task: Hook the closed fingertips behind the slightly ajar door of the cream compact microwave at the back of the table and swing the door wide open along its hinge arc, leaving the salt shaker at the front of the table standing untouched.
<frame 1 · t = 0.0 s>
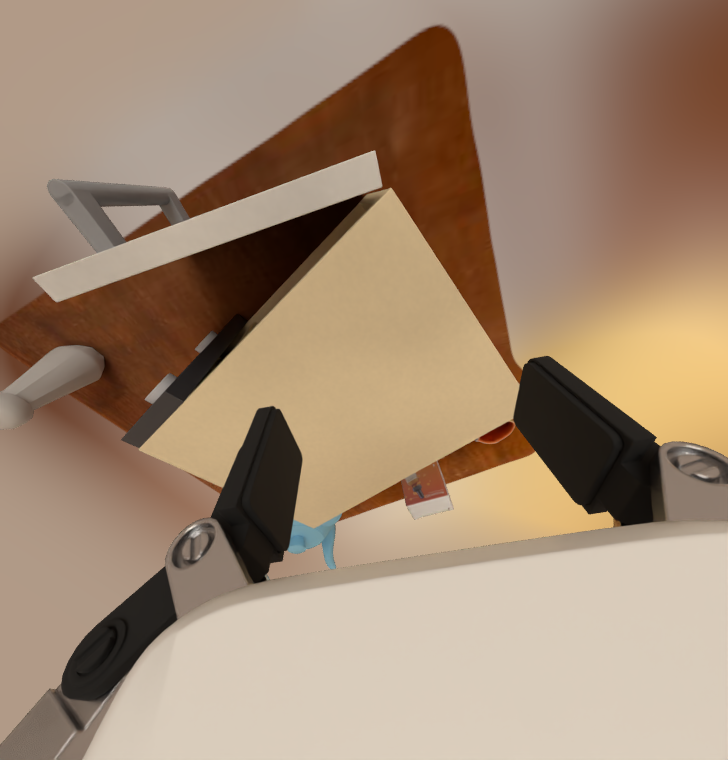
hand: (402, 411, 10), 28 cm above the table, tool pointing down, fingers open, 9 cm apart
microwave door: (232, 194, 21), point 9 cm above the table, hinge at 25.0°
mug: (466, 411, 49), on the table
salt shaker: (90, 356, 38), on the table
small box: (417, 460, 56), on the table
teapot: (305, 479, 58), on the table
microwave: (339, 342, 39), on the table
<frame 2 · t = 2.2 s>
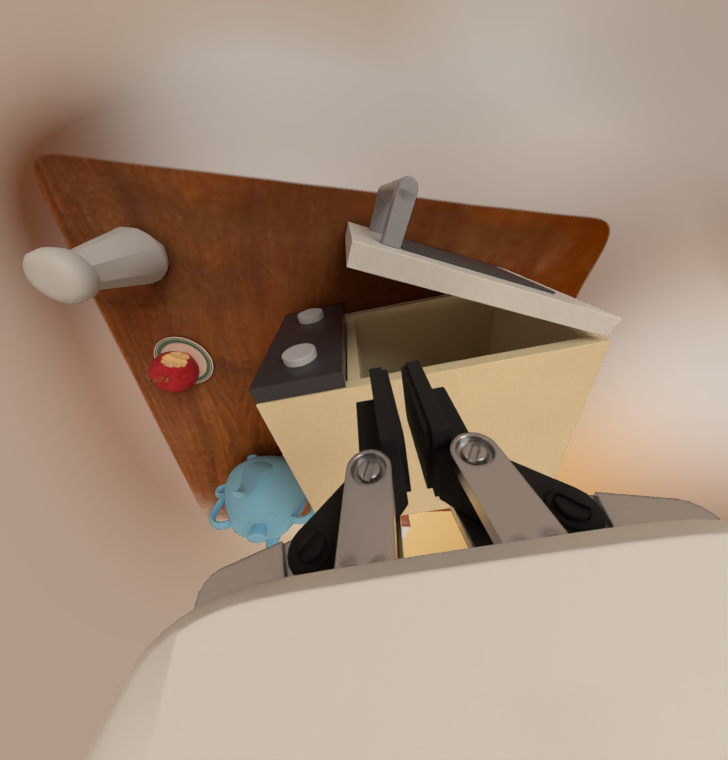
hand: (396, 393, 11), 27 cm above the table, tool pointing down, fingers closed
microwave door: (463, 245, 25), point 9 cm above the table, hinge at 25.0°
apple: (186, 359, 40), on the table
salt shaker: (151, 252, 31), on the table
teapot: (274, 467, 55), on the table
microwave: (401, 368, 43), on the table
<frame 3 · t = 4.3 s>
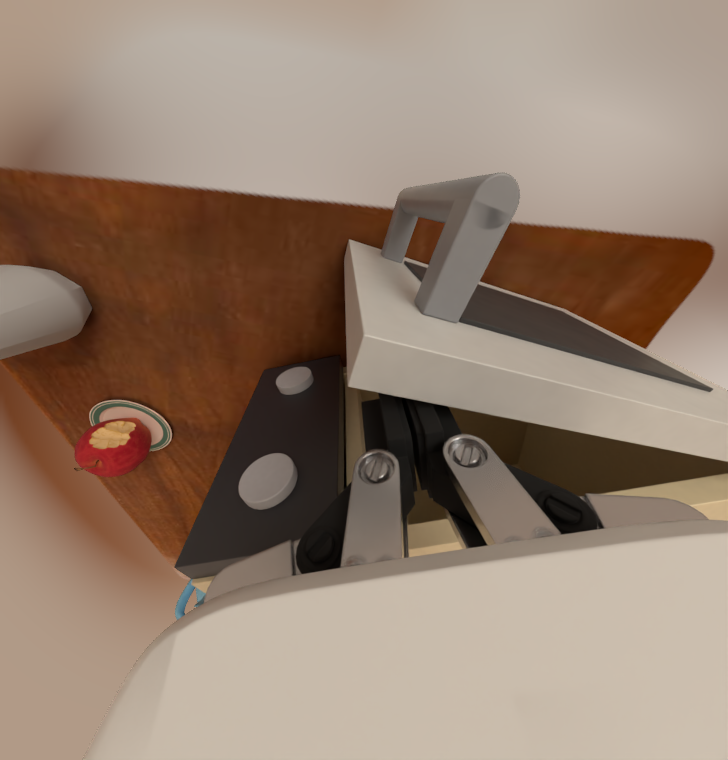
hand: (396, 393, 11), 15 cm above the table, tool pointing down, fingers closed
microwave door: (538, 292, 15), point 9 cm above the table, hinge at 27.1°, touching gripper
apple: (136, 423, 30), on the table
salt shaker: (64, 295, 22), on the table
teapot: (260, 530, 46), on the table
microwave: (416, 427, 34), on the table
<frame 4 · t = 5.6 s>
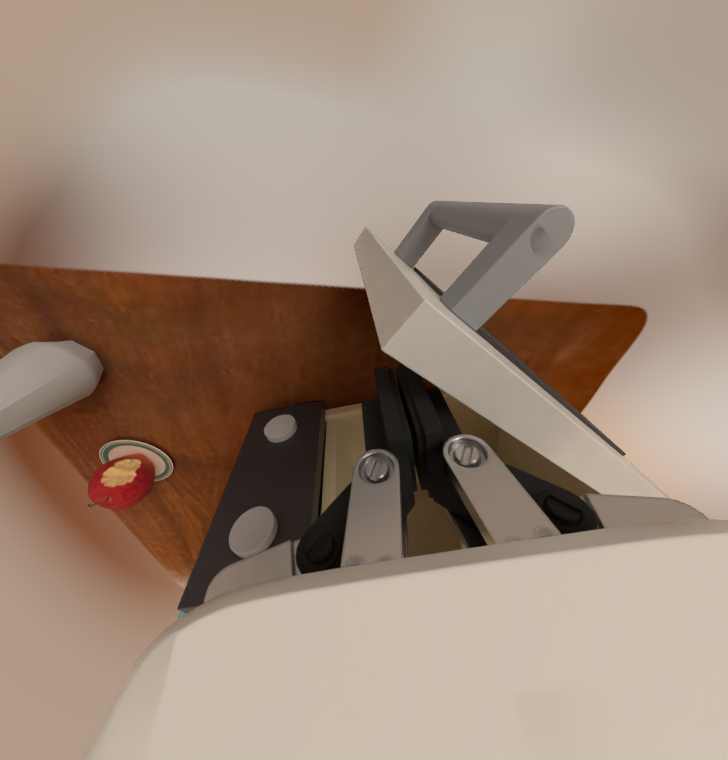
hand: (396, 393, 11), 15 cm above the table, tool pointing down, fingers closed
microwave door: (521, 336, 17), point 9 cm above the table, hinge at 47.6°, touching gripper
apple: (141, 457, 34), on the table
salt shaker: (79, 358, 25), on the table
microwave: (394, 457, 37), on the table
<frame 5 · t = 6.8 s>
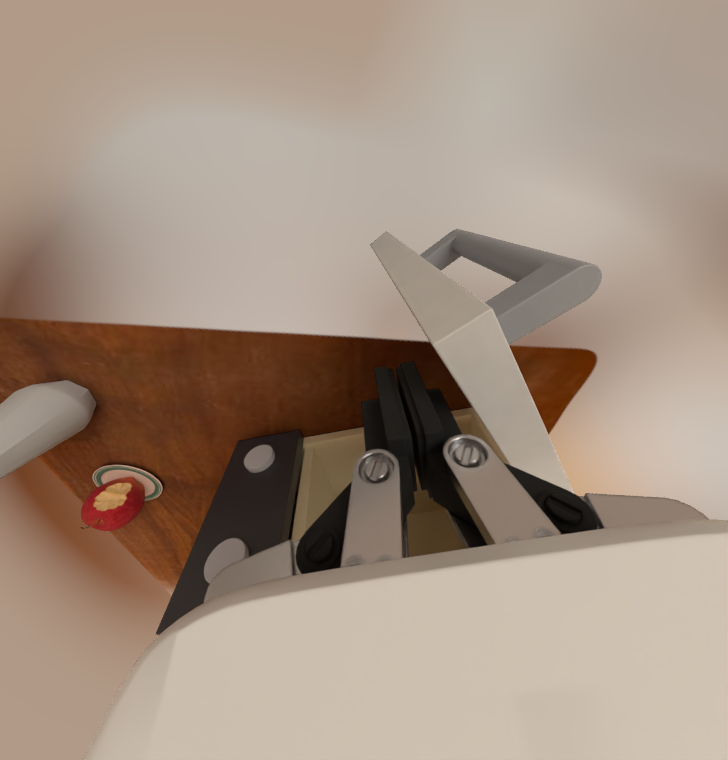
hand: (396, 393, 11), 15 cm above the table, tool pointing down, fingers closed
microwave door: (503, 373, 18), point 9 cm above the table, hinge at 64.2°
apple: (132, 479, 36), on the table
salt shaker: (74, 394, 28), on the table
microwave: (372, 478, 39), on the table
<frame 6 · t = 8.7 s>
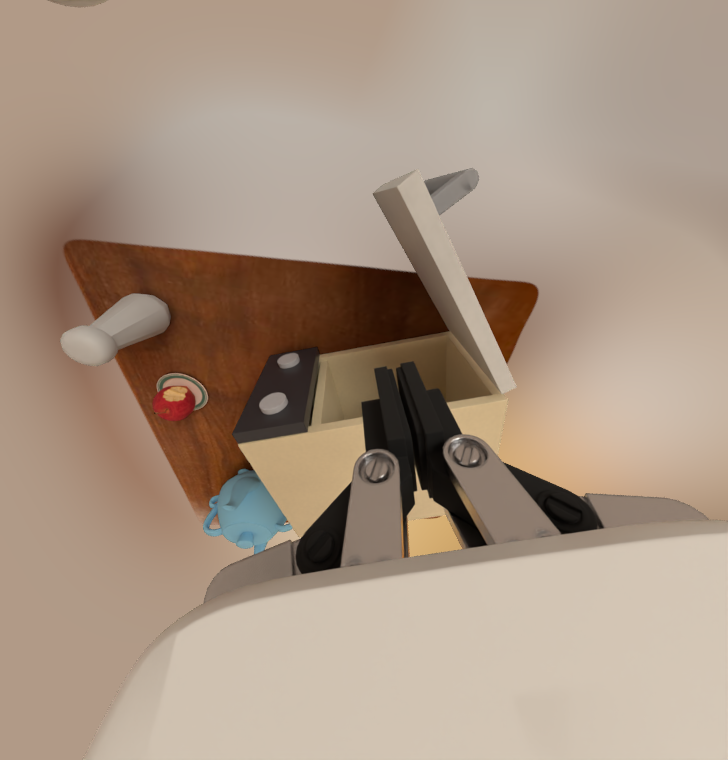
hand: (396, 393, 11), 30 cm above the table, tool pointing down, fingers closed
microwave door: (456, 271, 29), point 9 cm above the table, hinge at 64.4°
apple: (185, 390, 46), on the table
salt shaker: (155, 308, 38), on the table
teapot: (263, 479, 62), on the table
microwave: (371, 398, 49), on the table
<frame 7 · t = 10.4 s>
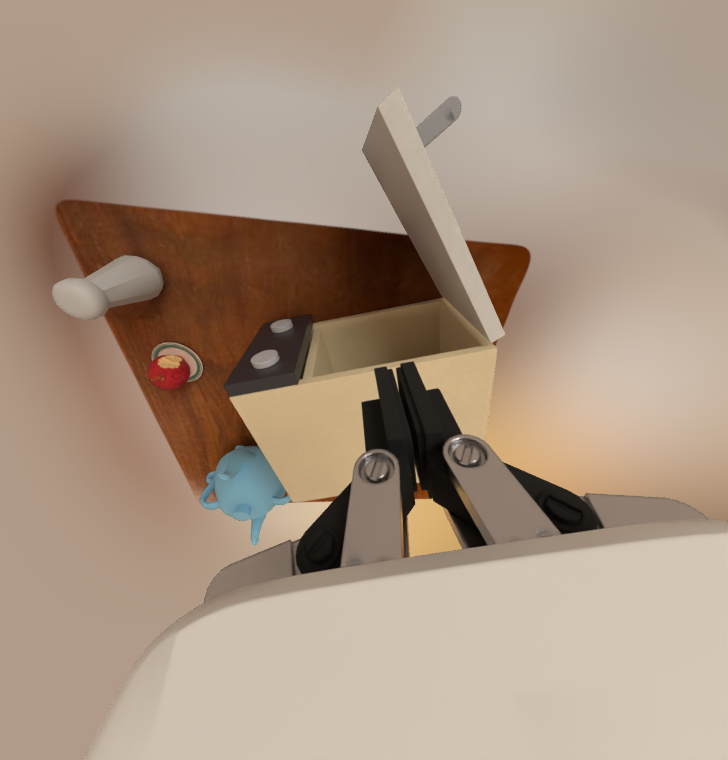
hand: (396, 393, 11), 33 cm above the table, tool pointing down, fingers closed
microwave door: (445, 222, 29), point 9 cm above the table, hinge at 64.4°
apple: (180, 361, 46), on the table
salt shaker: (149, 274, 38), on the table
teapot: (259, 457, 62), on the table
microwave: (365, 369, 50), on the table
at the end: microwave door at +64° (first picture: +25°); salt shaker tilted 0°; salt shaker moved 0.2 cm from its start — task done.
